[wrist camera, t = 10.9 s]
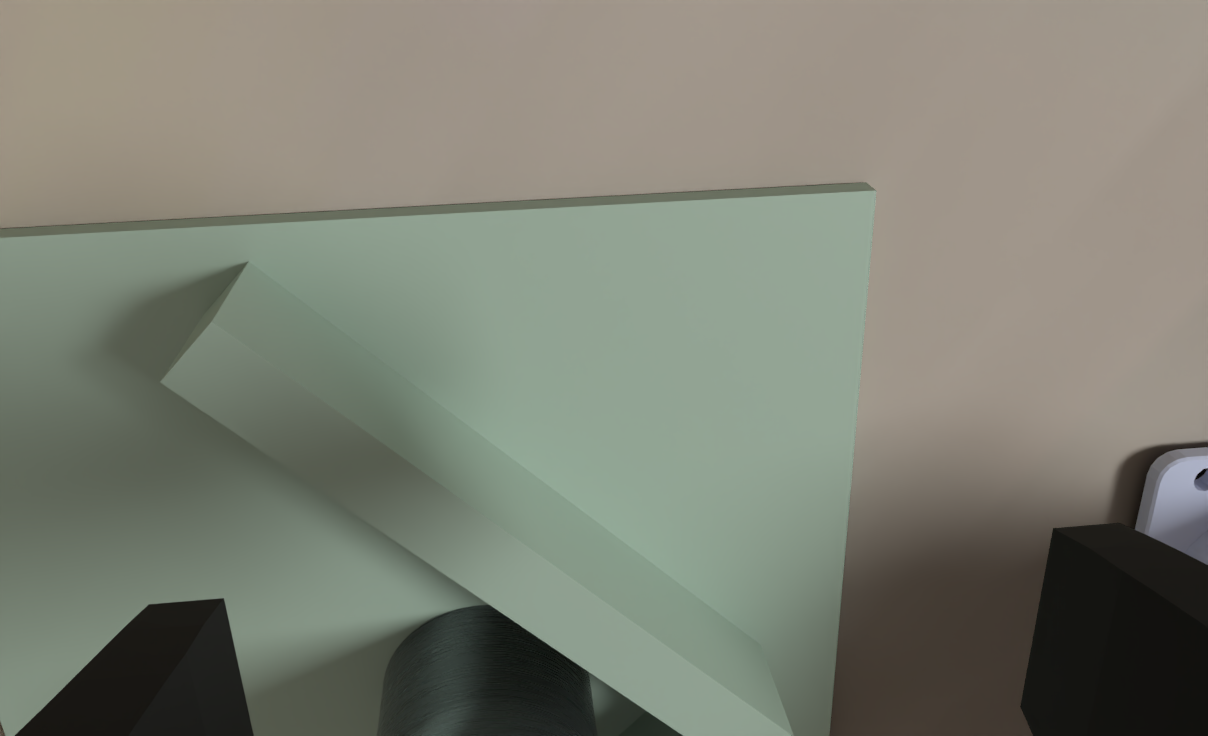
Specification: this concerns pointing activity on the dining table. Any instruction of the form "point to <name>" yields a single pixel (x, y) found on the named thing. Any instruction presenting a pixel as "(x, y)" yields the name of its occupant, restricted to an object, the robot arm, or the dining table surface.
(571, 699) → the metal axle
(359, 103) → the dining table surface
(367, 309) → the sage V-block
